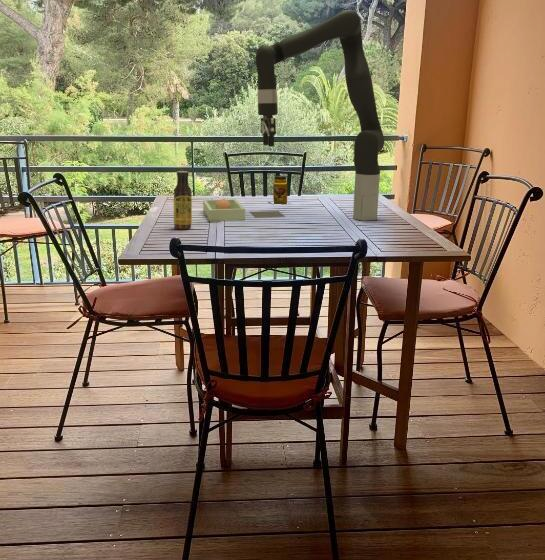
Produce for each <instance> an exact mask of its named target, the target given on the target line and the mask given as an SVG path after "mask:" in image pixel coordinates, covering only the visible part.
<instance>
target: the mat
mask: <svg viewBox="0 0 545 560" xmlns="http://www.w3.org/2000/svg"><path fill="white" fill-rule="evenodd" d="M249 213H250V215H252V216H253V218H255V219H258V218H260V219H261V218H262V219H263V218H285V217H286V216H285V214H283V213H281V211H279V210H266V211H249Z"/></svg>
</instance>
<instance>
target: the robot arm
mask: <svg viewBox="0 0 545 560" xmlns="http://www.w3.org/2000/svg"><path fill="white" fill-rule="evenodd" d="M362 32H363V31H362V20H361V17H360V16H359V14H358V13H357V12H356V11H355V10H353V9H345V10H342V11H340V12H339V13H337V14H336V15H334V16H332V17H331V18H329V19H327V20H325V21H323V22H321V23H320V24H317V25H314V26H313V27H311V28H308V29H305V30H303V31H300V32H298V33H295V34H292V35H290V36H289V35H288V37H287V36H286V37H285V38H283V39H281V40H280V41H279V42H276V43H274V44H272V45H271V44H270V45H266V44H265V45H261V46H259V47H258V48H257V50H256V52H255V64H256V65H255V66H256V73H257V114H258V116H263V117H261V118H260V134H261V135H262V145H263V146H267V147H274V146H275V136H276V134H277V130H276V129H277V124H276V118H275V117H273V116H277V115H278V113H279V112H278V91H277V77H276V74H275V65H277V64H278V63H281V62H283V61H285V60H287V59H290V58H293V57H295V56H298V55H301V54H304V53H306V52H308V51H310V50H312V49H314V48H315V47H317V46H318V45H321V44H323V43H325V42H328V41H330V40H335V39H339V41H340V45H341V48H342V49H341V50H342V53H343V57H344V59H343V60H344V75H345V76H344V77H345V85H346V89H347V94H348V97H349V100H350V103H351V105H352V107H353V109H354V111H355V113H356V115H357V117H358V122H359V126H360V132H359V133H358V134H357V135H356V137H355V139H354V143H353V144H354V145H353V146H354V147H353V164H354V168H355V170H354V171H355V173H354V174H355V175H354V176H355V177H354V192H353V210H352V211H353V212H352V219H354V220H358V221H366V222H367V221H377V220H378V212H379V211H378V210H379V195H380V178H381V167H380V165H379V160H378V159H379V154H380V152H381V151H382V150H383V149H384V146H385V137H384V133H383V129H382V126H381V123H380V119H379V116H378V110H377V103H376V99H375V91H374V85H373V80H372V75H371V70H370V67H369V64H368V61H367V58H366V55H365V52H364V45H363V38H362V37H363V35H362Z"/></svg>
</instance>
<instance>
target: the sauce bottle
mask: <svg viewBox="0 0 545 560" xmlns="http://www.w3.org/2000/svg"><path fill="white" fill-rule="evenodd" d="M189 175H190V173H189V171H186V170H179V171H178V170H177V171H176V179H177V182H176V186H175V188H174V190H173V227H174V229H176V230H188V229H191V228H192V222H193V221H192V219H193V218H192V217H193V216H192V212H193V211H192V209H193V207H192V204H193V200H192V199H193V198H192V189H191V187H190V185H189Z"/></svg>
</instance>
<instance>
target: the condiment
mask: <svg viewBox="0 0 545 560" xmlns="http://www.w3.org/2000/svg"><path fill="white" fill-rule="evenodd" d="M272 190H273V191H272V193H273V194H272V195H273V197H272V198H273V201H272V202H274V204H281V205H291V203H290V202H288V182H287V176H286V175H275V176H274V180H273V189H272ZM287 203H288V204H287ZM274 204H273V205H274Z"/></svg>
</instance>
